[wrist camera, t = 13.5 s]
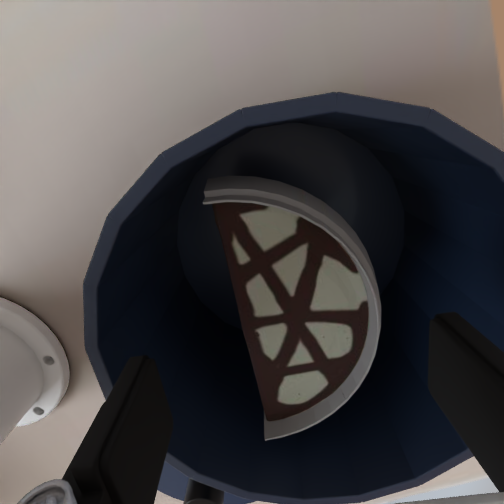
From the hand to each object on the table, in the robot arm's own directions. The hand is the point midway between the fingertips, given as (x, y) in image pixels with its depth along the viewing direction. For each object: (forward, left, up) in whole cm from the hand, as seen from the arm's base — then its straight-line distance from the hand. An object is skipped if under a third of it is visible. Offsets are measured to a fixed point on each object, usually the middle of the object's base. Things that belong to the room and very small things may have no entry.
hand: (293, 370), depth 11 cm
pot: (+1, 0, -13) cm, 13 cm away
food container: (+1, 0, -12) cm, 12 cm away
